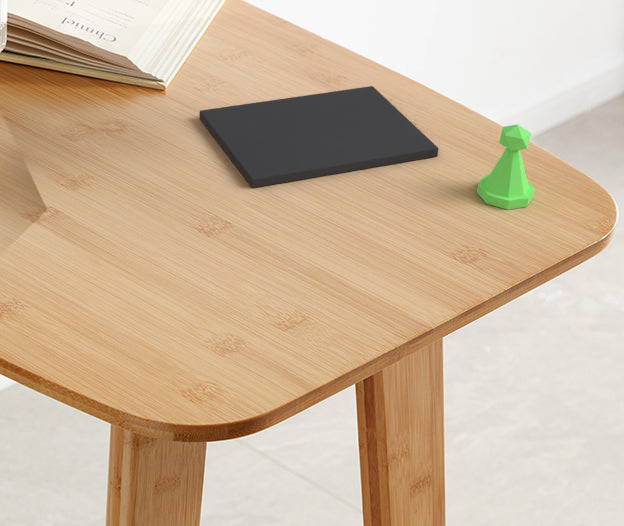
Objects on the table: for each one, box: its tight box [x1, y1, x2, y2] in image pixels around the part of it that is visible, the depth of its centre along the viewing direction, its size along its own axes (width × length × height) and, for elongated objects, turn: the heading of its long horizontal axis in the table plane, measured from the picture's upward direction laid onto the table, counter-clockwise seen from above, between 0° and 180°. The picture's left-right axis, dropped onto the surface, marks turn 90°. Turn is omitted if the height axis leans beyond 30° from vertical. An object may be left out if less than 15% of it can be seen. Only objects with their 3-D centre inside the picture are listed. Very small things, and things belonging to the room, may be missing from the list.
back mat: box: [199, 85, 439, 189], centre depth 92 cm, size 16×12×1 cm
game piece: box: [476, 124, 536, 211], centre depth 85 cm, size 4×4×6 cm
